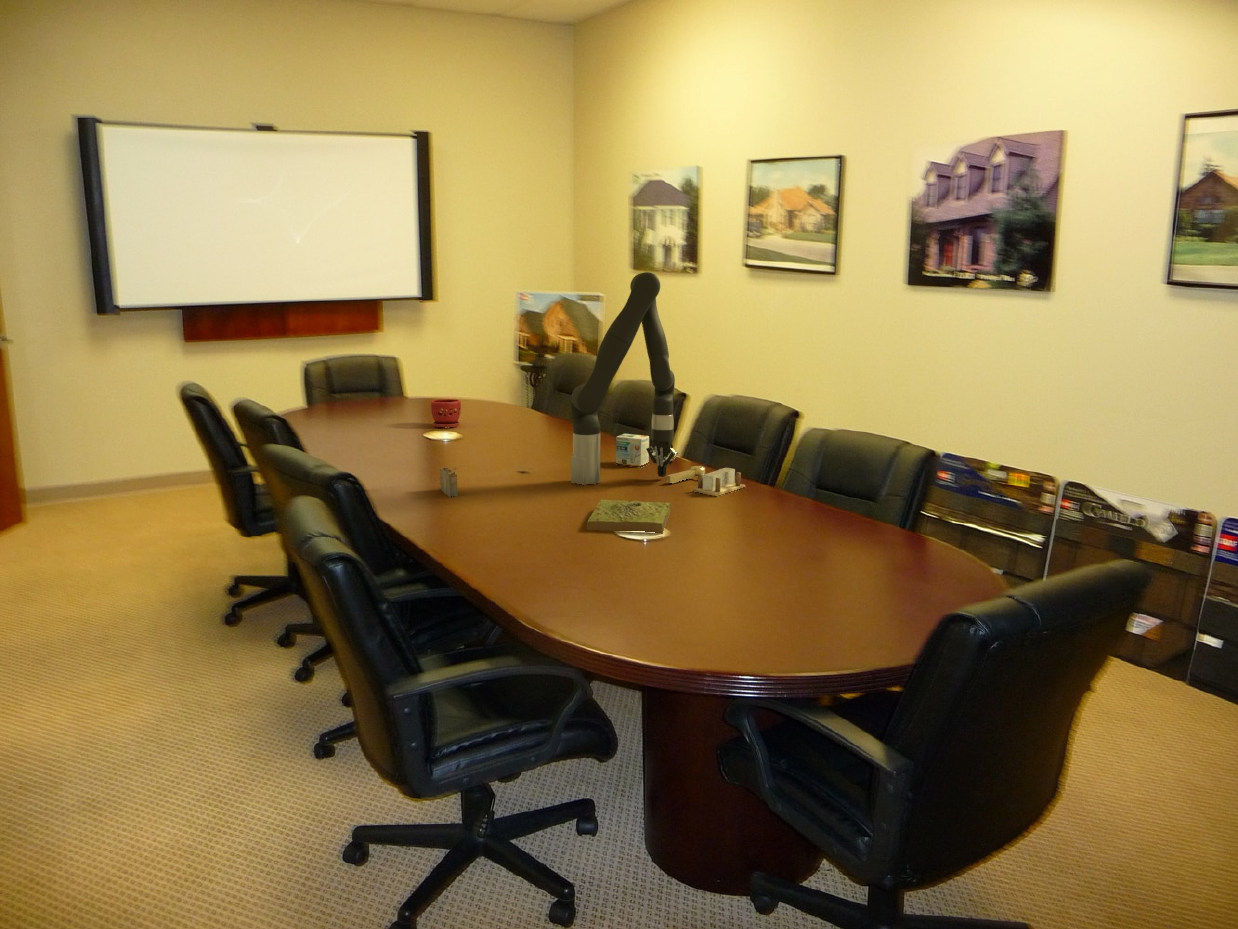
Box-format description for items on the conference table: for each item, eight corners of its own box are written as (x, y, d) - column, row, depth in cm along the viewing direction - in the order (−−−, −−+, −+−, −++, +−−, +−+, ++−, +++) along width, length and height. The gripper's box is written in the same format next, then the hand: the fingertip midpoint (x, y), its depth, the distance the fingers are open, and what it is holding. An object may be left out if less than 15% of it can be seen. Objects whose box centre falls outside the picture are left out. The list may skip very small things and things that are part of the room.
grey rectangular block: (711, 491, 316) (712, 476, 315) (702, 489, 318) (703, 474, 317) (734, 483, 327) (734, 469, 326) (725, 482, 329) (726, 467, 328)
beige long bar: (673, 484, 328) (674, 476, 327) (662, 482, 331) (662, 473, 331) (707, 475, 341) (708, 467, 341) (696, 473, 345) (696, 465, 344)
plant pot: (466, 427, 432) (465, 400, 429) (438, 430, 425) (437, 403, 422) (454, 423, 442) (453, 397, 440) (427, 425, 436) (426, 399, 433)
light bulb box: (615, 464, 360) (615, 436, 358) (623, 461, 366) (624, 433, 363) (641, 467, 355) (641, 438, 353) (649, 464, 361) (649, 435, 359)
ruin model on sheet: (459, 497, 313) (458, 468, 310) (449, 498, 311) (448, 469, 309) (449, 489, 323) (448, 461, 321) (440, 490, 321) (439, 461, 319)
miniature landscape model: (586, 531, 276) (586, 514, 275) (600, 510, 299) (600, 494, 298) (662, 536, 273) (662, 518, 272) (671, 513, 296) (671, 497, 295)
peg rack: (715, 497, 314) (716, 480, 313) (692, 491, 320) (692, 475, 319) (745, 488, 325) (745, 472, 324) (722, 483, 332) (722, 467, 330)
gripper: (640, 425, 335) (640, 475, 338) (670, 430, 326) (669, 481, 330) (655, 423, 340) (654, 471, 344) (684, 428, 331) (683, 477, 335)
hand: (661, 476), depth 337 cm, fingers closed
